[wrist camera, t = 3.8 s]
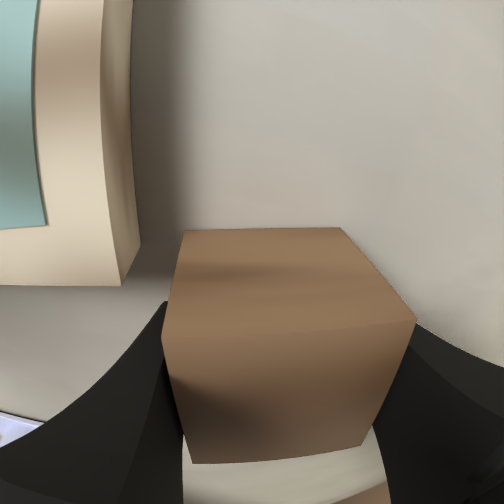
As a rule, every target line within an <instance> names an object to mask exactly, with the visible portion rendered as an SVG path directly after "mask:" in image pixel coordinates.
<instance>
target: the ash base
mask: <svg viewBox="0 0 504 504" xmlns="http://www.w3.org/2000/svg"><path fill="white" fill-rule="evenodd" d="M132 8H133V0H0V285H31V286H122V284H123V282H124V279H125V277H126V275H127V273H128V271H129V269H130V267H131V265H132V263H133V260H134V258H135V256H136V254H137V252H138V250H139V248H140V246H141V242H140V234H139V226H138V217H137V208H136V198H135V187H134V175H133V161H132V145H131V122H130V44H131V23H132Z"/></svg>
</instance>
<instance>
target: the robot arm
mask: <svg viewBox="0 0 504 504" xmlns="http://www.w3.org/2000/svg"><path fill="white" fill-rule="evenodd" d="M167 305H168V301H164V302H163V303H162V304H161V305H160V307H159V308H158V310H157V311H156V313H155V314H154V315H153V317H152V318H151V320H150V321H149V322H148V324H147V325H146V326H145V328H144V329H143V330H142V332H141V333H140V334H139V335H138V337H137V338H136V339H135V340H134V342H133V343H132V344H131V346H130V347H129V348H128V349H127V350H126V351H125V353H124V354H123V355H122V356H121V357H120V358H119V359H118V360H117V362H116V363H115V364H114V365H113V366H112V367H111V368H110V369H109V370H108V371H107V372H106V373H105V374H104V375H103V376H102V377H101V378H100V379H99V380H98V381H97V382H96V383H95V384H94V385H93V386H92V387H91V388H90V389H89V390H88V391H86V392H85V393H84V394H83V395H82V396H80V397H79V398H78V399H77V400H75V401H74V402H73V403H72V404H70V405H69V406H68V407H67V408H65V409H64V410H63V411H61V412H60V413H59V414H57V415H56V416H54V417H53V418H51V419H50V420H48V421H47V422H45V423H42V422H37V421H33V420H29V419H25V418H21V417H17V416H13V415H9V414H6V413H2V412H0V434H1V435H2V436H3V437H2V439H1V442H0V504H183V481H182V447H183V435H184V432H183V429H182V425H181V421H180V418H179V414H178V410H177V406H176V402H175V398H174V394H173V390H172V386H171V382H170V377H169V373H168V369H167V364H166V359H165V355H164V350H163V345H162V340H161V334H162V329H163V324H164V319H165V314H166V309H167ZM372 426H373V429H374V431H375V434H376V438H377V441H378V445H379V448H380V452H381V456H382V460H383V464H384V468H385V472H386V477H387V482H388V487H389V492H390V498H391V504H504V368H503V367H500V366H498V365H495V364H493V363H490V362H487V361H485V360H482V359H480V358H478V357H475V356H473V355H471V354H469V353H467V352H465V351H463V350H461V349H459V348H457V347H455V346H453V345H451V344H449V343H448V342H446V341H444V340H442V339H441V338H439V337H437V336H436V335H434V334H432V333H431V332H429V331H427V330H426V329H424V328H423V327H421V326H419V325H418V324H415V327H414V330H413V333H412V335H411V338H410V341H409V343H408V346H407V348H406V351H405V353H404V356H403V358H402V361H401V363H400V366H399V368H398V370H397V373H396V375H395V377H394V380H393V382H392V384H391V386H390V389H389V391H388V393H387V395H386V397H385V399H384V402H383V404H382V406H381V408H380V410H379V412H378V414H377V416H376V418H375V420H374V422H373V424H372Z"/></svg>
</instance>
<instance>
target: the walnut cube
mask: <svg viewBox="0 0 504 504" xmlns="http://www.w3.org/2000/svg"><path fill="white" fill-rule="evenodd" d="M416 321H417V317H416V316H415V315H414V313H413V312H412V311H411V310H410V308H409V307H408V306H407V305H406V303H405V302H404V301H403V300H402V299H401V297H400V296H399V295H398V294H397V292H396V291H395V290H394V289H393V288H392V286H391V285H390V284H389V283H388V282H387V280H386V279H385V278H384V277H383V276H382V275H381V273H380V272H379V271H378V270H377V269H376V268H375V266H374V265H373V264H372V263H371V262H370V261H369V259H368V258H367V257H366V256H365V255H364V254H363V253H362V251H361V250H360V249H359V248H358V247H357V246H356V245H355V244H354V242H353V241H352V240H351V239H350V238H349V237H348V236H347V235H346V234H345V232H344V231H343V230H342V229H341V228H265V229H220V230H186V231H184V235H183V239H182V243H181V247H180V251H179V255H178V260H177V264H176V268H175V273H174V277H173V281H172V286H171V291H170V295H169V300H168V305H167V309H166V314H165V319H164V324H163V329H162V334H161V340H162V345H163V350H164V355H165V359H166V364H167V369H168V373H169V377H170V382H171V386H172V390H173V394H174V398H175V402H176V406H177V410H178V414H179V418H180V421H181V425H182V429H183V432H184V436H185V439H186V443H187V446H188V450H189V453H190V456H191V460H192V463H193V464H221V463H243V462H258V461H269V460H279V459H287V458H295V457H302V456H309V455H316V454H322V453H327V452H333V451H338V450H343V449H348V448H352V447H357V446H361V444H362V443H363V441H364V439H365V437H366V435H367V433H368V431H369V430H370V428H371V426H372V424H373V422H374V420H375V418H376V416H377V414H378V412H379V410H380V408H381V406H382V404H383V402H384V399H385V397H386V395H387V393H388V391H389V389H390V386H391V384H392V382H393V380H394V377H395V375H396V373H397V370H398V368H399V366H400V363H401V361H402V358H403V356H404V353H405V351H406V348H407V346H408V343H409V341H410V338H411V335H412V333H413V330H414V327H415V324H416Z"/></svg>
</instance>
